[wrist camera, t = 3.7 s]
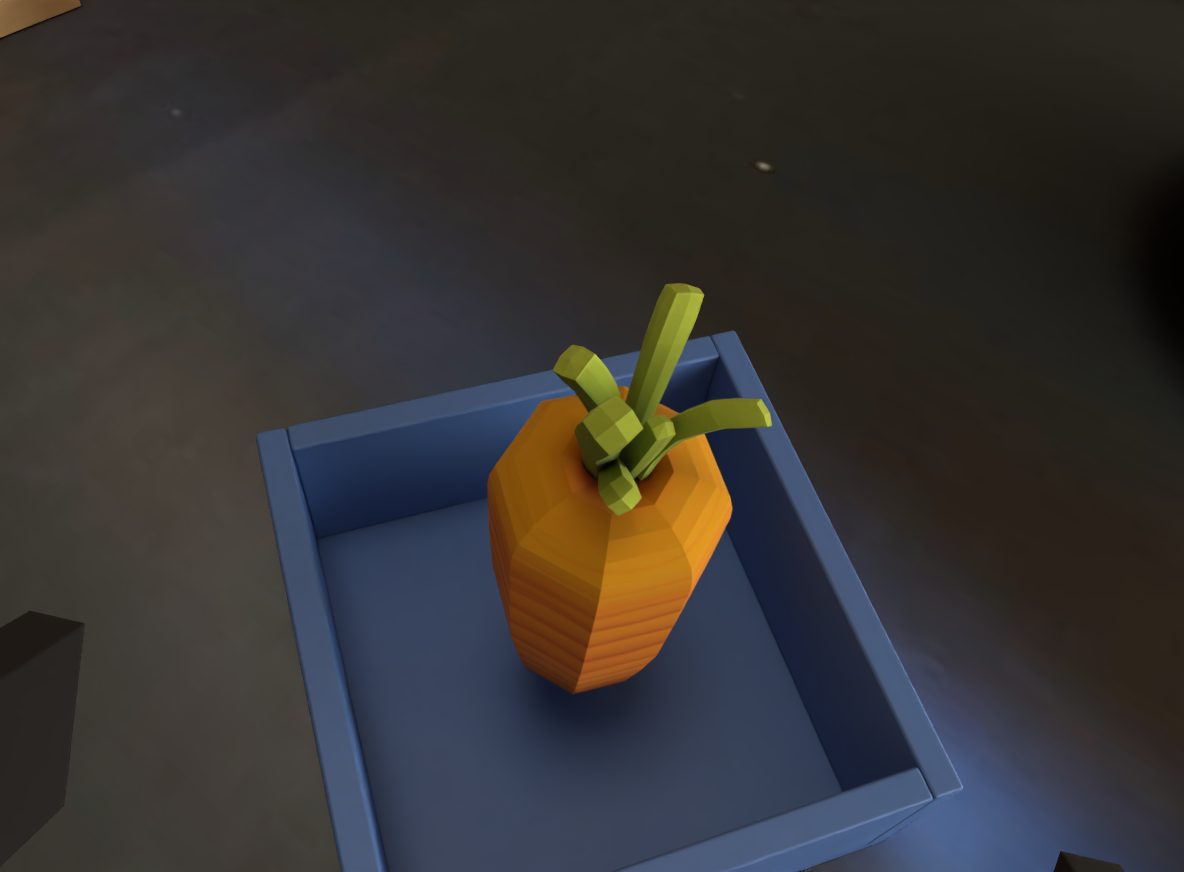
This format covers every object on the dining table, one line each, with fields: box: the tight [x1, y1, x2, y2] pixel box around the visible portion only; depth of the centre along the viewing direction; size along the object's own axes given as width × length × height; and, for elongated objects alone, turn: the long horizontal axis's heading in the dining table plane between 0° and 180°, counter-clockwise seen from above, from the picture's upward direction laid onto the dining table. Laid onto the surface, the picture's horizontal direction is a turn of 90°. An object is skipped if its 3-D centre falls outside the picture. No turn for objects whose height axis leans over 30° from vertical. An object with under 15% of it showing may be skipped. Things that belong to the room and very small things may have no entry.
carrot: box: [487, 283, 772, 694], centre depth 23 cm, size 5×5×15 cm
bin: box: [256, 331, 963, 872], centre depth 28 cm, size 14×14×6 cm
